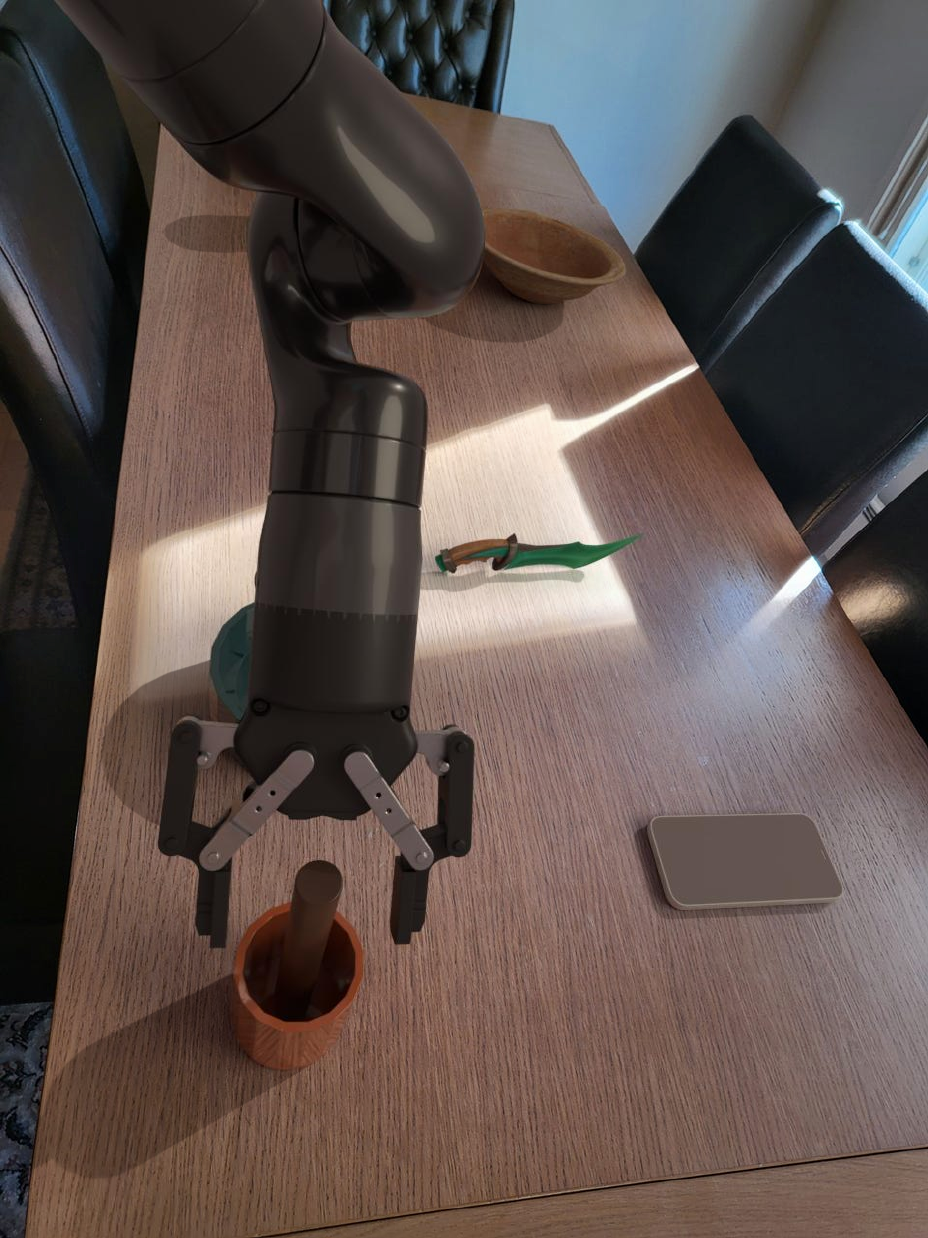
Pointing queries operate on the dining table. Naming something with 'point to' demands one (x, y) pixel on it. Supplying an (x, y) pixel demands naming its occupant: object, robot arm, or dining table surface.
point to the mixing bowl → (231, 669)
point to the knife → (526, 553)
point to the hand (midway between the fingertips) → (311, 939)
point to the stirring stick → (306, 937)
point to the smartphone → (742, 860)
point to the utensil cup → (257, 985)
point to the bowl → (546, 256)
